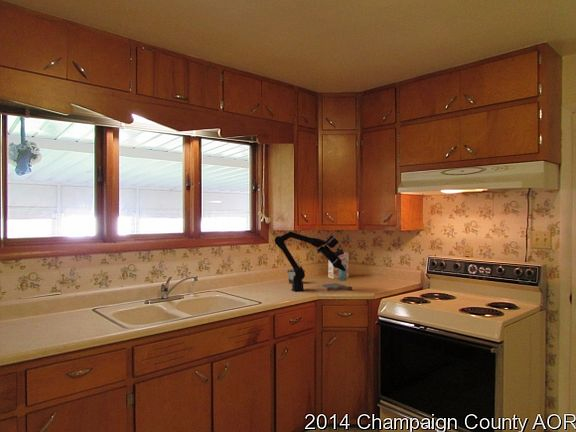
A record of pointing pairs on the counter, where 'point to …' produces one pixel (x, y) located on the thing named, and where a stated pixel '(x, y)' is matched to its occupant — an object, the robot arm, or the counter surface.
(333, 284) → the mat
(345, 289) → the bar
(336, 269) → the coffeecake box
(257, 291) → the counter surface
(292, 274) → the food container
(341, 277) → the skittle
